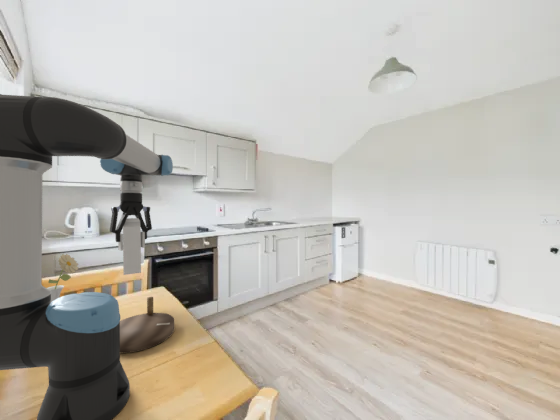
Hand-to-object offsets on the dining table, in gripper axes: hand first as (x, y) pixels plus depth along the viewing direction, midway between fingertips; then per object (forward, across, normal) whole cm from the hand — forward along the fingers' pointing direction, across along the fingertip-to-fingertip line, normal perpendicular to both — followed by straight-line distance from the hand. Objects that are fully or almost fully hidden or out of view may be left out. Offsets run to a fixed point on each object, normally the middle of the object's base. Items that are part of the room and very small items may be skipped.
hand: (132, 248), depth 99 cm
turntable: (+25, -6, -24) cm, 35 cm away
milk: (+10, 0, 0) cm, 10 cm away
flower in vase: (+25, -22, +6) cm, 34 cm away
